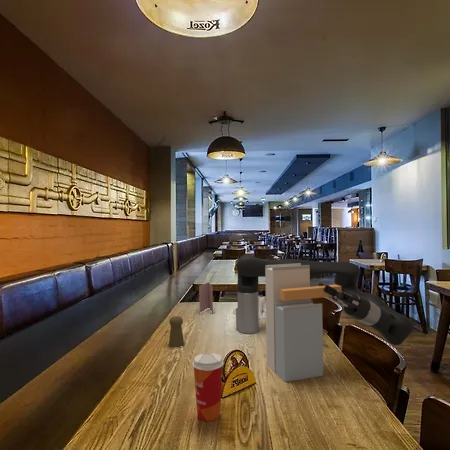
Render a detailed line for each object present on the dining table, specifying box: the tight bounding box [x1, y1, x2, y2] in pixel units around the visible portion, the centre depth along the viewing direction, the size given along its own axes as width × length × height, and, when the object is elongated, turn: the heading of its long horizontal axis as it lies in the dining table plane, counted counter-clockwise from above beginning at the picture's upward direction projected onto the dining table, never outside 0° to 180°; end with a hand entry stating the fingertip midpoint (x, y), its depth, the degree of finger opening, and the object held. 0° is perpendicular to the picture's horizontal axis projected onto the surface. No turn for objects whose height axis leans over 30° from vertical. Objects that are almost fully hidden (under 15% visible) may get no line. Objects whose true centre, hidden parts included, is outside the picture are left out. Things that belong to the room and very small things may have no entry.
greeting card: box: [198, 282, 214, 314], centre depth 179 cm, size 11×7×15 cm, turn 157°
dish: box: [232, 295, 266, 321], centre depth 176 cm, size 25×25×11 cm
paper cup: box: [192, 352, 224, 422], centre depth 83 cm, size 8×8×14 cm
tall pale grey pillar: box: [265, 263, 311, 373], centre depth 111 cm, size 13×6×33 cm, turn 107°
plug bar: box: [280, 284, 343, 301], centre depth 105 cm, size 20×3×3 cm, turn 107°
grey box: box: [275, 299, 324, 383], centre depth 104 cm, size 13×6×22 cm, turn 107°
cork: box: [168, 315, 185, 348], centre depth 131 cm, size 6×6×11 cm
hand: (322, 286), depth 106 cm, fingers closed on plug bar, 3 cm apart
